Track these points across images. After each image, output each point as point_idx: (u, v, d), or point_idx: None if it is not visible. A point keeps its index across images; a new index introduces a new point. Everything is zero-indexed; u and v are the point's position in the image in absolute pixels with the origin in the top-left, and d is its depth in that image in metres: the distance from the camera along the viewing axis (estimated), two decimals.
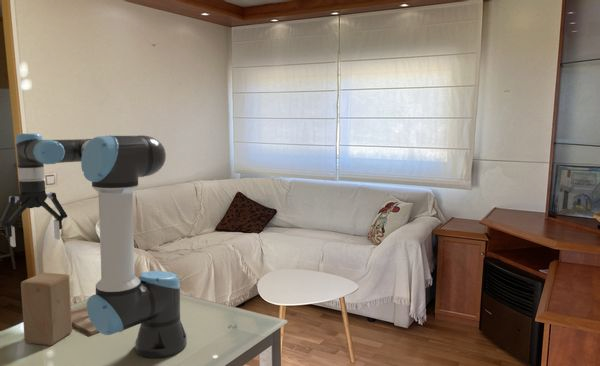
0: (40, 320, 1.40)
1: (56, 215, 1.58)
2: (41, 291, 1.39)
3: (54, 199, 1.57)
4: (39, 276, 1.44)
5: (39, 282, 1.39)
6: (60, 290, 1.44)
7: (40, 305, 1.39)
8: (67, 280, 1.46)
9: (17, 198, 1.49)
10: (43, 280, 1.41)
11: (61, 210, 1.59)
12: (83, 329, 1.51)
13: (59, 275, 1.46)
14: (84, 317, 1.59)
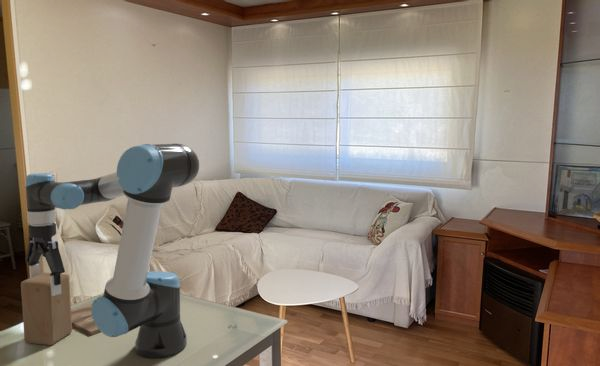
0: (40, 320, 1.40)
1: (50, 268, 1.39)
2: (41, 291, 1.39)
3: (49, 250, 1.38)
4: (39, 276, 1.44)
5: (39, 282, 1.39)
6: None
7: (40, 305, 1.39)
8: (67, 280, 1.46)
9: (34, 239, 1.45)
10: (43, 280, 1.41)
11: (53, 264, 1.37)
12: (83, 329, 1.51)
13: None
14: (84, 317, 1.59)
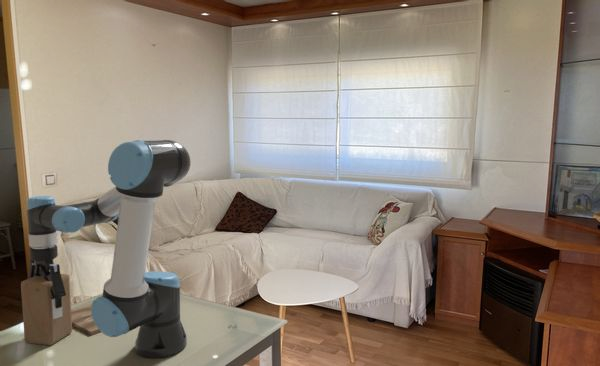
0: (40, 320, 1.40)
1: (51, 291, 1.40)
2: (41, 291, 1.39)
3: (50, 273, 1.39)
4: (39, 276, 1.44)
5: (39, 282, 1.39)
6: None
7: (40, 305, 1.39)
8: (67, 280, 1.46)
9: (35, 261, 1.46)
10: (43, 280, 1.41)
11: (54, 288, 1.38)
12: (83, 329, 1.51)
13: None
14: (84, 317, 1.59)
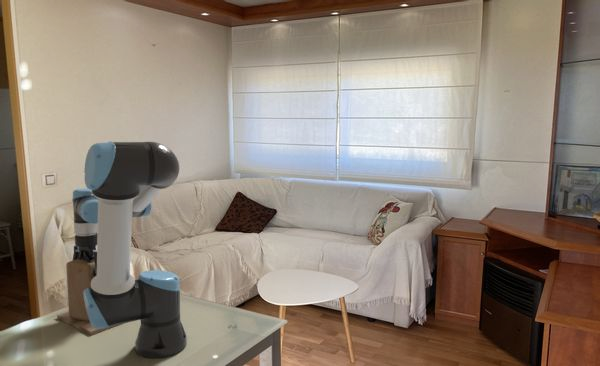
0: (81, 298, 1.55)
1: (95, 274, 1.54)
2: (82, 272, 1.53)
3: (94, 258, 1.54)
4: None
5: (81, 263, 1.54)
6: None
7: (82, 285, 1.54)
8: None
9: (79, 248, 1.60)
10: (85, 262, 1.55)
11: None
12: (83, 329, 1.51)
13: None
14: None
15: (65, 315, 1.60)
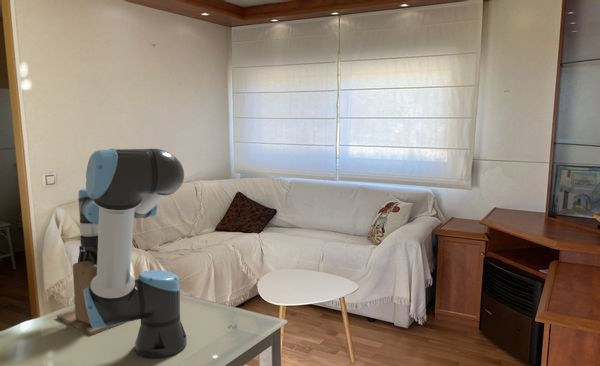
0: (84, 300, 1.52)
1: None
2: (85, 274, 1.51)
3: None
4: (90, 261, 1.57)
5: (84, 266, 1.52)
6: None
7: (84, 287, 1.51)
8: None
9: None
10: (89, 264, 1.53)
11: None
12: (83, 329, 1.51)
13: None
14: None
15: (65, 315, 1.60)
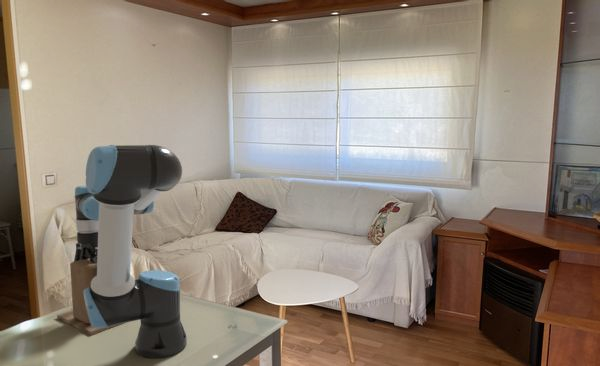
0: (81, 299, 1.53)
1: None
2: (81, 273, 1.52)
3: (96, 255, 1.53)
4: (87, 259, 1.58)
5: (81, 264, 1.53)
6: None
7: (81, 286, 1.52)
8: None
9: None
10: (86, 263, 1.54)
11: None
12: (83, 329, 1.51)
13: None
14: None
15: (65, 315, 1.60)
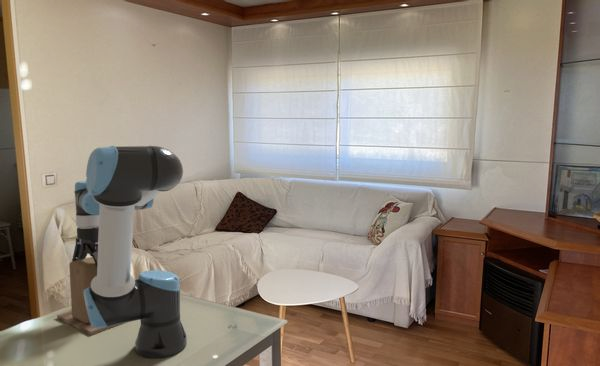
0: (79, 299, 1.54)
1: None
2: (80, 273, 1.52)
3: (96, 250, 1.52)
4: (86, 259, 1.59)
5: (80, 264, 1.53)
6: None
7: (79, 286, 1.53)
8: None
9: (81, 240, 1.59)
10: (84, 263, 1.54)
11: None
12: (83, 329, 1.51)
13: None
14: None
15: (65, 315, 1.60)
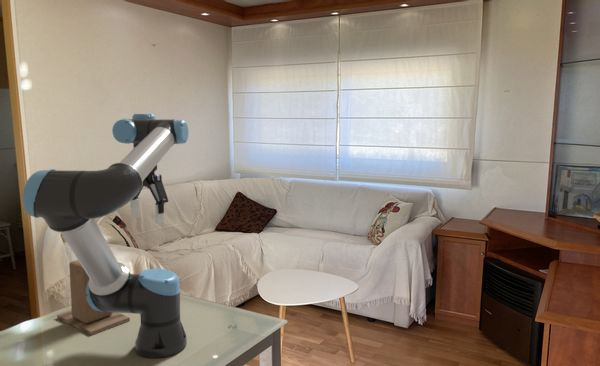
0: (79, 299, 1.54)
1: (155, 198, 1.54)
2: (80, 273, 1.52)
3: (154, 181, 1.53)
4: None
5: (80, 264, 1.53)
6: None
7: (79, 286, 1.53)
8: None
9: None
10: None
11: (158, 194, 1.53)
12: (83, 329, 1.51)
13: None
14: None
15: (65, 315, 1.60)
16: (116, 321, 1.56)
